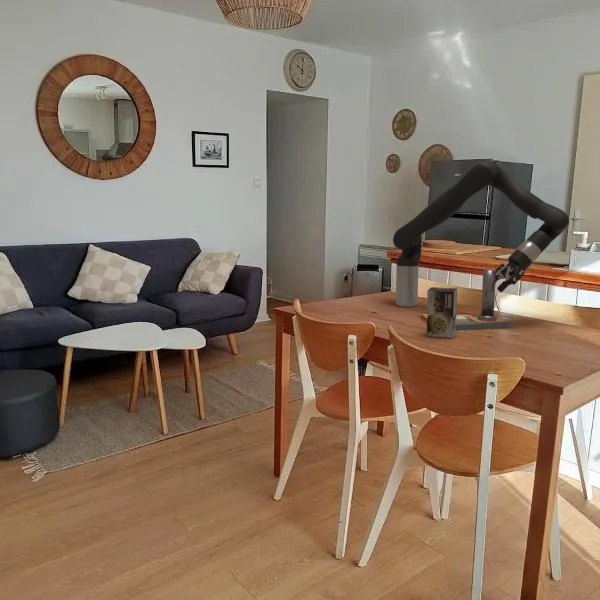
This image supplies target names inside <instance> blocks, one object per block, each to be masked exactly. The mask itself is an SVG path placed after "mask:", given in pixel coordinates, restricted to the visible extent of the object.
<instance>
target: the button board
mask: <svg viewBox="0 0 600 600" xmlns="http://www.w3.org/2000/svg"><path fill="white" fill-rule="evenodd" d="M497 317H498V318H500V319H502V320H505V321H506V322H497V323H478V324H477V323H475V322H473V321H471V320H469V319H468V317H466V318H467V319H468V323H457V324H456V332H457V331H473V330H492V329H494V330H495V329H508V328H511V322H510V321H508V320H506V319H503V318H501V317H499V316H497Z"/></svg>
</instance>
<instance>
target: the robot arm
mask: <svg viewBox="0 0 600 600" xmlns="http://www.w3.org/2000/svg"><path fill="white" fill-rule="evenodd" d="M489 186H491V187H493V188H495V189H497V190H498V191H500V192H501V193H502V194H503V195H505V196H506V197H507V198H508V200H509V201H510V202H511V203H512V204H513V205H514V206H515V207H516V208H517V209H519V211H521V212H522V213H524V214H526V215H527V216H528V217H530V218H531V219H533V220H538V219H539V221H542V222H543V223H542V225H540V227H539V228H538V229H537V230H535V231H534V232H533V233H532V234H530V236H529V237H527V238H526V239H525V241H524V242H522V243H521V244H520V245H519V246H518V247H517V248H516V249H515V250H514V251H513V252H512V253H511V254H510V255H509V256H508V257H507V261H508V262H507V264H505V263H500V265H499V266H497V267H496V268H495V270H496V282H495V284H496V283H497V282H498V281H500V280H503V281H502V282H501V283H500V284H499V286H497V287H496V289H497V291H499V293H503V292H504V291H505V290H506V289H507V288H508V287H509V286H511V285H513V286H514V285H516V283H517V282H518V281H520V279H521V278H522V277H523V276H524V275H525V273H526V272H525V271H527V269H529V267H531V266H532V264H534V262H535V261H536V260H537V259H538V258H539V257H540V255H541V254H542V253H543V252H544V251H545V250H546V249H547V248H548V246H549V245H550V244H551V243H552V242H553V241H554V240H556V238H558V236H560V235H562V233H563V232H564V231H565V229H566V228H567V227H568V225H569V222H570V218H569V215H568V214H567V213H566V212H565V211H564V210H562V209H561V208H559V207H557V206H554V205H553V204H550V203H547V202H545V201H544V200H543V199H541V198H539V197H538V196H537V195H535V194H534V193H532V192H531V191H529V190H528V189H526V188H525V187H524V186H522V185H521V184H519V183H518V182H517V181H516V180H515V179H513V178H512V177H511V176H510V175H509V174H508V173H507V172H505V171H504V170H503V168H502V167H500V166H499V165H498V164H497V163H496V162H495V161H493V160H490V159H485V160H481V161H480V162H477V163H476V164H474V165H473V166H472V167H471V168H470V169H469V170H468V171H467V172H466V174H465V175H464V176H463V177H462V178H461V179H460V180H459V181H458V182H456V184H454V185H453V186H451V187H450V188H448V189H447V190H445V191H444V192H443V193H441V194H440V195H438V196H437V197H436V198H435V199H434V200H433V201H431V203H430V204H429V205H427V206H426V207H425V208H424V209H423V210H422V211H421V212H419V213H418V214H417V215H416V216H415V217H414V218H412V219H411V220H410V221H409V222H407V223H406V224H404V225H402V226H401V227H400V228H398V229H396V231H395V233H394V235H393V238H392V242H393V243H392V244H393V245H394V247H396V249H399V250H401V254H400V255H399V256H398V257H397V259H396V271H395V272H396V278H395V279H396V280H395V281H396V284H395V285H396V286H395V305H396V306H398V307H403V308H405V307H407V308H409V307H410V308H412V307H416V306H418V303H419V302H418V300H419V298H418V297H419V265H420V260H421V257H422V246H423V245H422V244H423V240H422V238H423V237H422V236H423V234H424V233H427V232H428V231H430V230H432V229H434V228H436V227H438V226H440V225H442V224H443V223H445V222H447V220H449V219H450V218H451V217H452V216H454V215H455V214H456V213H457V212H458V211H459V210H460V209H461V208H462V207H463V206H464V204H465V203H466V202H467V200H468V199H470V198H471V197H472V196H474V195H475V194H477V193H478V192H480V191H481V190H483V189H484V188H486V187H489Z"/></svg>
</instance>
